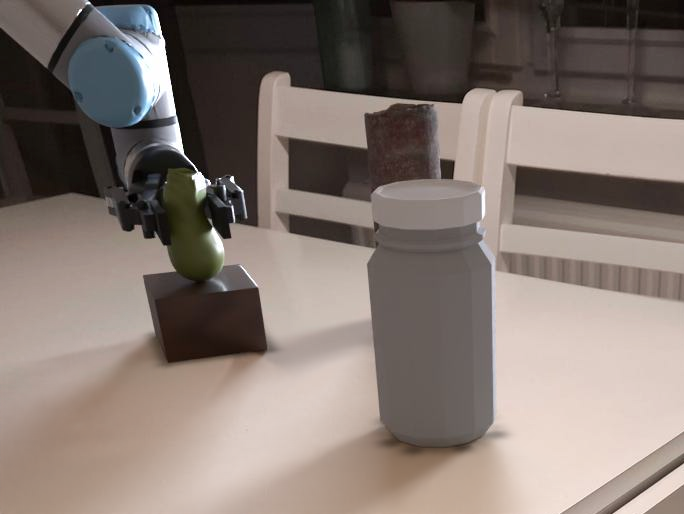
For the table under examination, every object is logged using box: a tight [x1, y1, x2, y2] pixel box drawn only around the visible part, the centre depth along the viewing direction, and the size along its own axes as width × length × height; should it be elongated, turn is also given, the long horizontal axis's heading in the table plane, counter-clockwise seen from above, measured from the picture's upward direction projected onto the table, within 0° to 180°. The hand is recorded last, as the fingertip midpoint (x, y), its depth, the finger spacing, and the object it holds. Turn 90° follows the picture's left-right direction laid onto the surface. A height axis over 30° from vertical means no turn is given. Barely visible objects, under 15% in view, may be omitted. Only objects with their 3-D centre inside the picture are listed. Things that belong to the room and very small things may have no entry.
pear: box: [163, 168, 225, 282], centre depth 97 cm, size 6×5×10 cm
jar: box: [366, 178, 498, 448], centre depth 79 cm, size 10×10×18 cm
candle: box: [363, 102, 442, 249], centre depth 103 cm, size 8×7×20 cm
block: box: [142, 263, 268, 364], centre depth 102 cm, size 10×10×6 cm
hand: (194, 226), depth 93 cm, fingers closed on pear, 5 cm apart
